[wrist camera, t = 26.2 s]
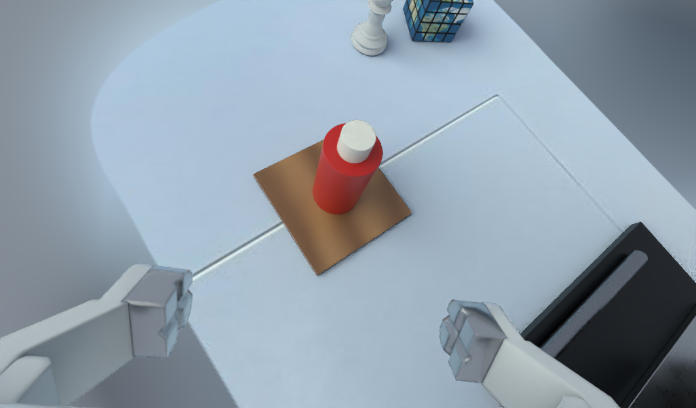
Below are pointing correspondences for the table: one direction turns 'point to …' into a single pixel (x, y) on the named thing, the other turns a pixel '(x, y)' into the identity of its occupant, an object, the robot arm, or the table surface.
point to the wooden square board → (320, 226)
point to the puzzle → (435, 18)
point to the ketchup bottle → (346, 166)
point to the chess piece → (372, 29)
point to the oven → (627, 325)
